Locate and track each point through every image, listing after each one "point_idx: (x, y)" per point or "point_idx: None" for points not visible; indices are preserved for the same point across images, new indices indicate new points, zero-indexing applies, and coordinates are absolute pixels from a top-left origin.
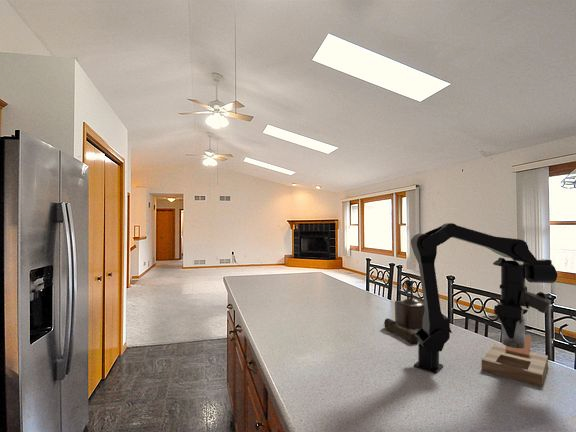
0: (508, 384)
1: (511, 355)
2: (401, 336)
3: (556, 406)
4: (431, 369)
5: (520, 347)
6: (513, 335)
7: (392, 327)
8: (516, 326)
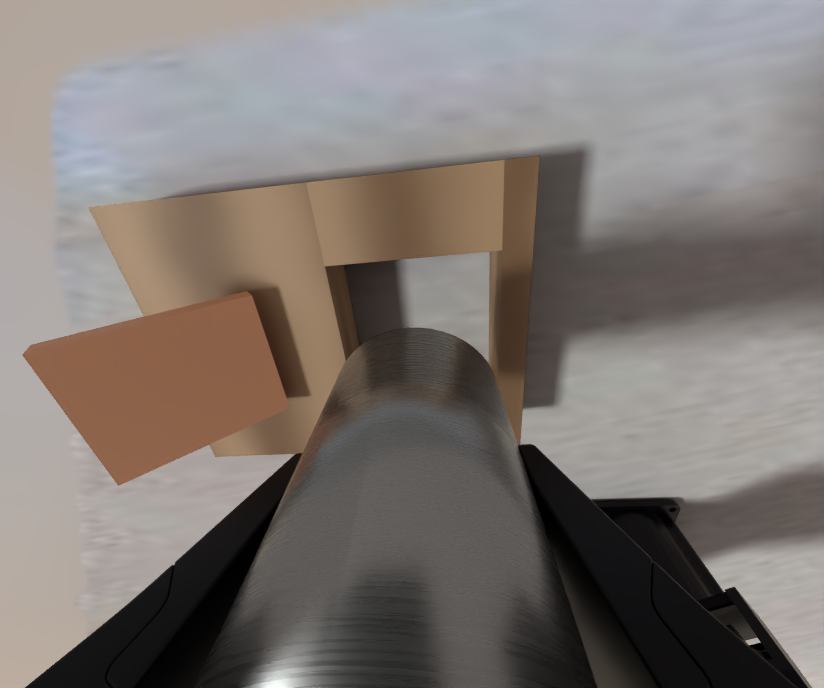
0: (607, 295)
1: (317, 366)
2: None
3: (792, 24)
4: (666, 518)
5: (474, 349)
6: (558, 471)
7: None
8: (553, 573)
